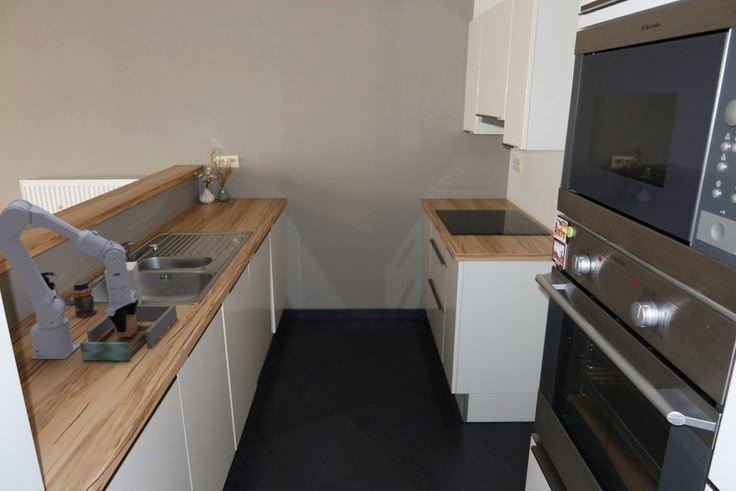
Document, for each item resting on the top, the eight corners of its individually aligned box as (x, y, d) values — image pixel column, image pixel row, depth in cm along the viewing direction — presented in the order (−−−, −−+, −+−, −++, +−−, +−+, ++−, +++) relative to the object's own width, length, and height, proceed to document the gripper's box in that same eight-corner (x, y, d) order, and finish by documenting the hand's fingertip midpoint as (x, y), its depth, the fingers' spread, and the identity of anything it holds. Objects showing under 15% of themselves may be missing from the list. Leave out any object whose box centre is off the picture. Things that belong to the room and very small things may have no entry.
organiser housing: (89, 347, 152) (86, 331, 151) (121, 318, 171) (119, 304, 169) (151, 347, 152) (149, 332, 150) (177, 319, 170) (175, 305, 168)
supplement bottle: (100, 311, 177) (94, 280, 173) (87, 318, 171) (81, 286, 168) (85, 309, 178) (79, 278, 175) (71, 317, 172) (65, 285, 169)
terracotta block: (115, 336, 154) (113, 321, 152) (123, 329, 158) (120, 314, 156) (130, 336, 153) (128, 321, 152) (137, 329, 158) (135, 314, 156)
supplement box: (110, 314, 175) (102, 271, 170) (115, 303, 183) (109, 263, 178) (139, 311, 177) (132, 269, 172) (143, 300, 185) (137, 260, 180)
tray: (82, 360, 144) (79, 343, 143) (114, 332, 161) (111, 317, 159) (129, 360, 144) (126, 344, 142) (155, 332, 160) (153, 317, 159)
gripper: (120, 295, 144) (127, 339, 148) (143, 276, 158) (149, 317, 162) (95, 295, 144) (102, 339, 148) (121, 276, 158) (127, 317, 162)
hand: (125, 328), depth 155 cm, fingers closed on terracotta block, 4 cm apart
